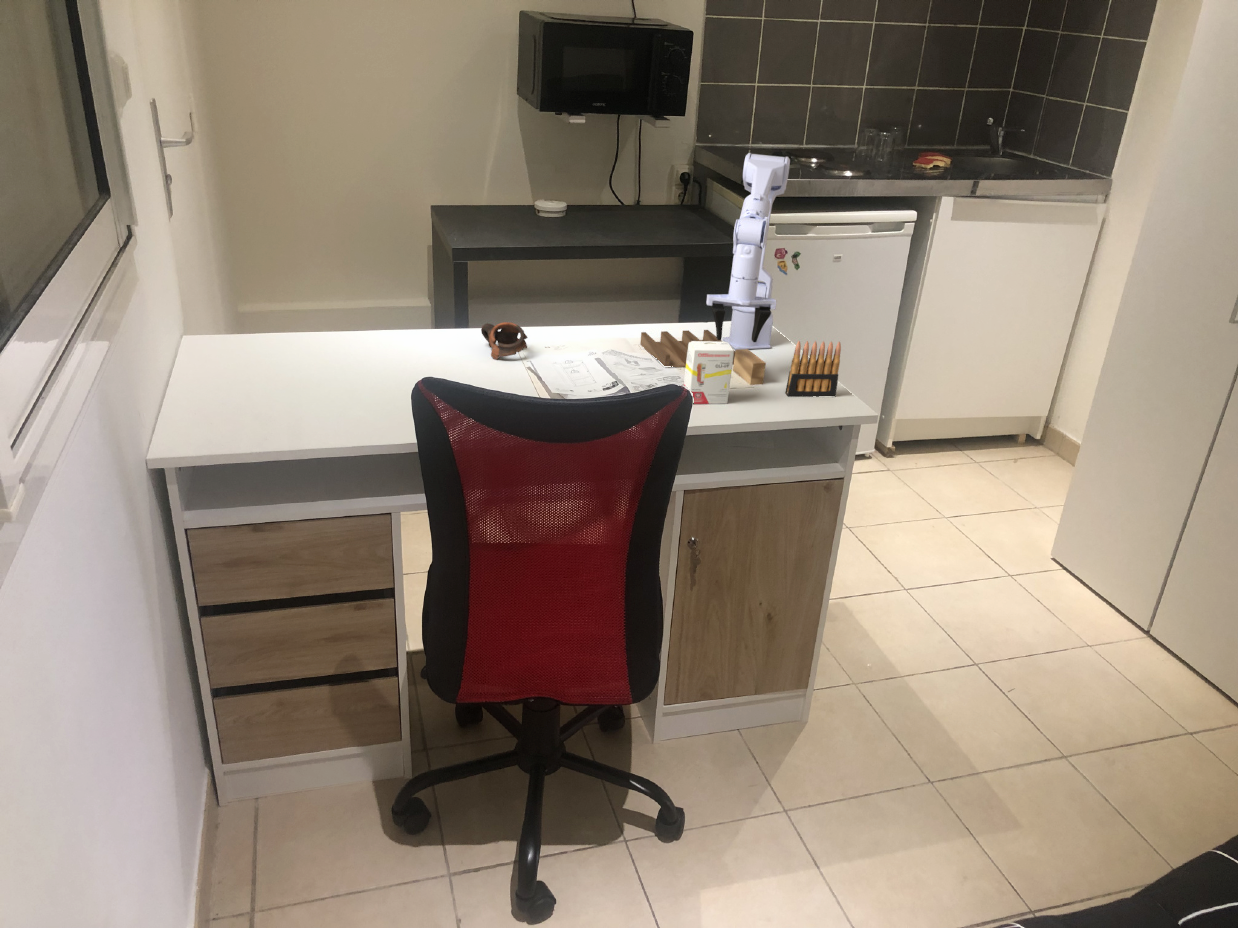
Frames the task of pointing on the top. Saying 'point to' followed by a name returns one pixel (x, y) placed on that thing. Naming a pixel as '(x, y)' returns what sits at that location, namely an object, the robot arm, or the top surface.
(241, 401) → the top surface
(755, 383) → the tall wooden plank
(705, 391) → the ink box
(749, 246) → the robot arm
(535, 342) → the top surface
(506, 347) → the pottery mug
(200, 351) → the top surface
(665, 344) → the notched ledge
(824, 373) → the ammunition clip
